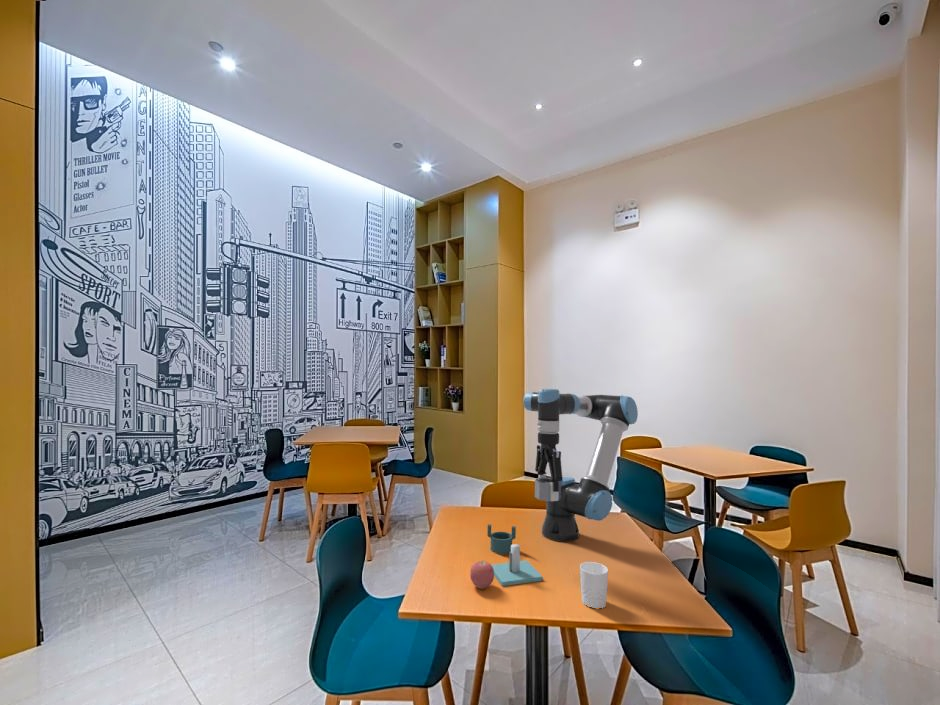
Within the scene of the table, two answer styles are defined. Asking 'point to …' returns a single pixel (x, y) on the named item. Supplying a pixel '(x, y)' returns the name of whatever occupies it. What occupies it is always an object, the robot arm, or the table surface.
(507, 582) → the stand
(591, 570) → the white cup
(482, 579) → the apple
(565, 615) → the table surface
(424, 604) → the table surface
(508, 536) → the bracket
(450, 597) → the table surface
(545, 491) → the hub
